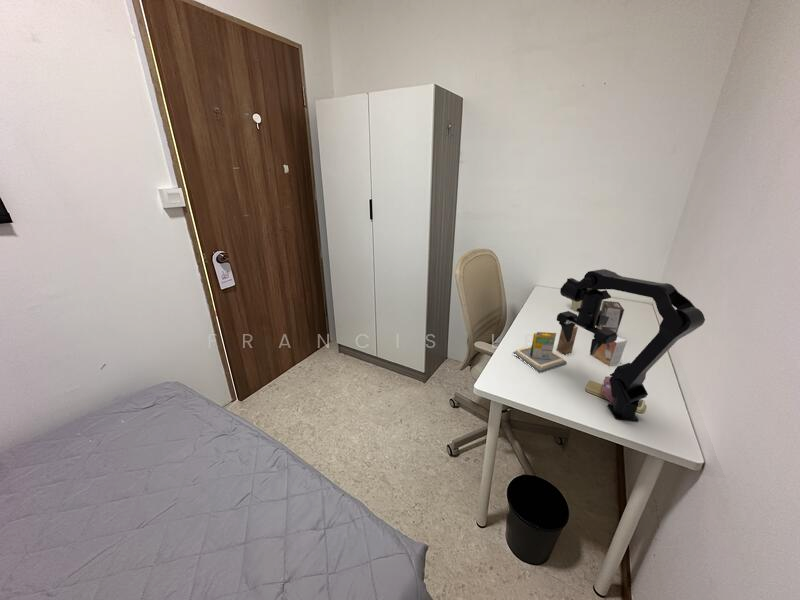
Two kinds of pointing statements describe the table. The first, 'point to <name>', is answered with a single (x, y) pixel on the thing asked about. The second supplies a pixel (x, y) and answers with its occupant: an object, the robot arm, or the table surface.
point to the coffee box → (611, 315)
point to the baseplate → (540, 360)
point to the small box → (611, 352)
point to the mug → (576, 304)
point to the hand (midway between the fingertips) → (579, 348)
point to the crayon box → (542, 345)
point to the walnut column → (563, 344)
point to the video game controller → (607, 389)
